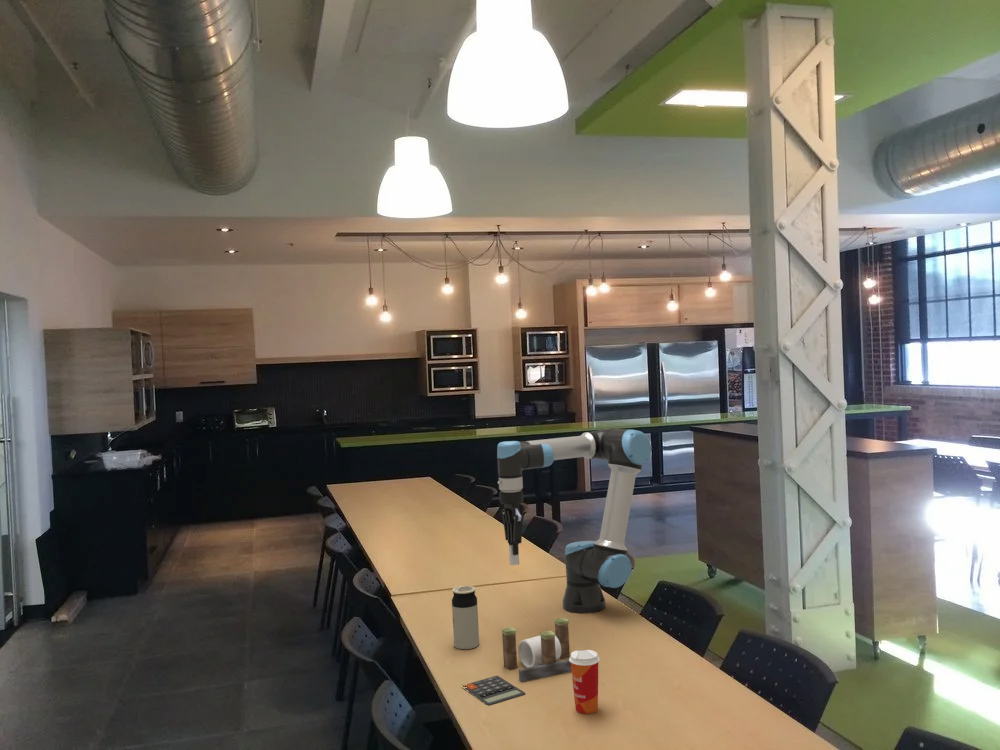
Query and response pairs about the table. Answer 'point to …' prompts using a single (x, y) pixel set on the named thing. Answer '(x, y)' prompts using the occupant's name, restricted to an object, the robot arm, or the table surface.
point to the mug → (535, 651)
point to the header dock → (547, 649)
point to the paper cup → (585, 680)
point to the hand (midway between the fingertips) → (514, 564)
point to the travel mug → (465, 617)
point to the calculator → (493, 690)
